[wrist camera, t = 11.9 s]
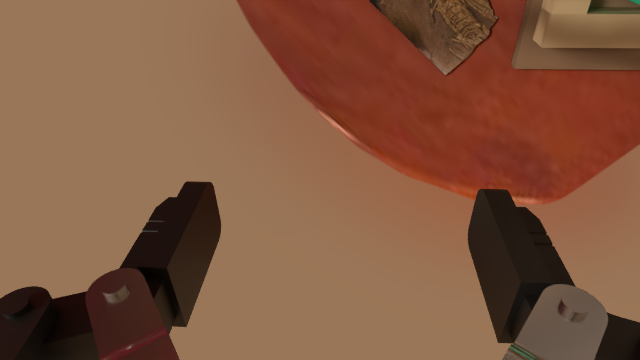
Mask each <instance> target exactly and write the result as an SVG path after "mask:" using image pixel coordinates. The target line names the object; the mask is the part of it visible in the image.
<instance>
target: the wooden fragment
mask: <svg viewBox="0 0 640 360" xmlns="http://www.w3.org/2000/svg"><path fill="white" fill-rule="evenodd" d="M370 2H371V3H372V4H373V5H374V6H375V7H376V8H377V9H379V11H380V12H381V13H382V14H383V15H384V16H385V17H387V18H388V19H389V20H390V21H391V22H392V24H394V25H395V26H396V27H397V28H398V29H399V30H400V31H401V32H402V33H403V34H404V35H405V36H406V37H407V38H408V39H409V40H410V41H411V42H412V43H413V44H414V45H415V46H416V47H417V48H418V49H419V50H420V51H421V52H422V53H424V54H425V56H426V57H428V58H429V60H430V61H432V62H433V64H434V65H435V66H436V67H437V68H439V69H440V71H442V72H443V73H444V74H445V76H446V75H447V74H448V73H449V72H450V71H451V70H452V69H454V68H455V67H456V66H457V65H458V64H460V63H461V62H462V61H464V60H465V59H467V58H468V57H469V56H470V55H471V53H472V52H473V50H474V48H475V47H476V46H477V45H478V44H479V43H480V42H481V41H483V40H484V39H486V38H487V36H488V35H489V33H490V30H489V29H490V27H491V26H492V25H493V24H494V23H495V21H496V20H497V19H498V17H497V16H494V13H493V9H491V6H490V5H489V0H370Z"/></svg>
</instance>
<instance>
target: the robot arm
mask: <svg viewBox="0 0 640 360" xmlns="http://www.w3.org/2000/svg"><path fill="white" fill-rule="evenodd" d="M220 233H221V221H220V215H219V210H218V206H217V200H216V195H215V191H214V186H213V184H212V183H211V182H186V183H185V184H184V185H183V187H182V189H181V190H180V192H179V194H178V196H177V197H169V198H167V199H166V200H165V201H164V202H162V203H161V204H160V205H159V206H157V207H156V208H155V210H154V212H153V213H152V215H151V217H150V218H149V222H148V223H146V225H145V227H144V228H143V232H142V233H140V235H139V237H138V238H137V240H136V242H135V243H134V245H133V246H132V248H131V250H130V252H129V253H128V255H127V257H126V258H125V260H124V261H123V263H122V265H121V267H120V268H119V269H116V270H113V271H110V272H108V273H106V274H104V275H102V276H101V277H99V278H98V279H96V280H95V281H94V282H93V283H92V284H91V286H90V287H89V289H88V290H87V291H86V292H82V293H78V294H73V295H69V296H64V297H60V298H55V299H52V297H51V296H50V294H49V292H48V291H47V290H46V289H44V288H42V287H35V286H34V287H33V286H32V287H25V288H21V289H18V290H15V291H13V292H11V293H9V294H7V295H5V296H4V297H2V298H1V299H0V360H180V359H179V357H178V355H177V352H176V350H175V347H174V345H173V343H172V341H171V338H170V336H169V333H170V331H171V329H172V326H178V327H186V326H187V324H188V321H189V319H190V316H191V313H192V311H193V308H194V305H195V303H196V300H197V297H198V295H199V292H200V289H201V287H202V284H203V281H204V278H205V276H206V273H207V270H208V268H209V265H210V263H211V260H212V257H213V254H214V252H215V249H216V247H217V244H218V241H219V238H220ZM468 245H469V249H470V253H471V256H472V259H473V263H474V266H475V269H476V272H477V275H478V278H479V282H480V285H481V289H482V291H483V295H484V298H485V302H486V305H487V308H488V311H489V314H490V318H491V321H492V324H493V327H494V330H495V334H496V337H497V341H498V343H513V345H511V346H510V347H509V349H508V350H507V352H506V354H505V356H504V358H503V359H502V360H640V323H639V322H636V321H632V320H628V319H625V318H621V317H618V316H615V315H612V314H609V313H607V312H606V310H605V308H604V307H603V305H602V304H601V303H600V302H599V301H598V300H597V299H596V298H595V297H594V296H592V295H591V294H589V293H588V292H586V291H584V290H582V289H580V288H577V287H576V286H575V285H574V283H573V281H572V279H571V277H570V275H569V273H568V272H567V270H566V268H565V266H564V264H563V262H562V260H561V259H560V257H559V255H558V253H557V251H556V250H555V247H553V246H552V242H551V240H550V238H549V236H548V235H546V231H545V229H544V227H543V225H542V223H541V222H540V220H539V219H538V218H537V217H536V216H535V215H534V214H533V213H532V212H530V211H529V210H528V209H527V208H526V207H516V206H515V203H514V201H513V199H512V197H511V195H510V193H509V192H508V190H504V189H480V190H479V191H478V193H477V196H476V200H475V204H474V208H473V212H472V216H471V220H470V225H469V229H468Z"/></svg>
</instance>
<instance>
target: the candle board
mask: <svg viewBox="0 0 640 360" xmlns="http://www.w3.org/2000/svg"><path fill="white" fill-rule="evenodd" d="M511 65H512V66H513V68H514V69H592V70H640V5H639V4H636V3H634V2H632V1H630V0H527V3H526V7H525V11H524V15H523V19H522V23H521V27H520V31H519V35H518V39H517V43H516V47H515V51H514V55H513V59H512V63H511Z"/></svg>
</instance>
